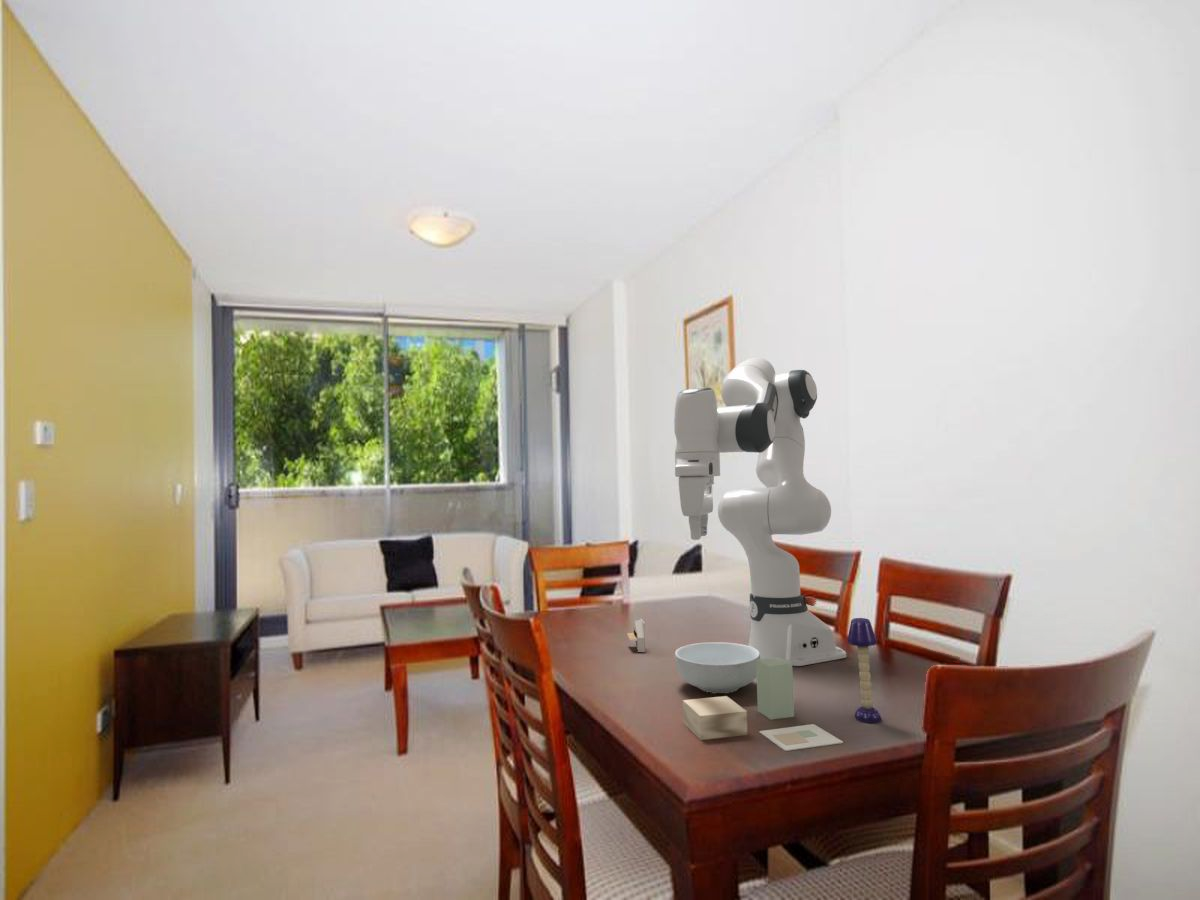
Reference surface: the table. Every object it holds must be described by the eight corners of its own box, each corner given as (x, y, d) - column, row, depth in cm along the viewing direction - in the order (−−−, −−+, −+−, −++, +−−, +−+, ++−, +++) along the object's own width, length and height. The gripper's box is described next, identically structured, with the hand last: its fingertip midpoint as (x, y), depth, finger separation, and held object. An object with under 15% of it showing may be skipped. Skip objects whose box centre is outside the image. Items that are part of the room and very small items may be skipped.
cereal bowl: (672, 676, 141) (671, 642, 142) (752, 675, 141) (750, 640, 141) (679, 702, 124) (678, 663, 125) (769, 701, 124) (768, 662, 124)
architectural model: (631, 655, 161) (630, 623, 161) (627, 648, 168) (626, 618, 168) (645, 654, 161) (644, 623, 162) (641, 647, 168) (640, 617, 169)
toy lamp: (865, 725, 111) (861, 623, 111) (844, 716, 115) (840, 618, 116) (887, 720, 113) (882, 620, 113) (865, 712, 117) (862, 615, 118)
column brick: (780, 708, 120) (778, 657, 120) (794, 716, 116) (792, 663, 116) (757, 711, 119) (756, 659, 119) (770, 719, 114) (768, 666, 115)
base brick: (727, 719, 116) (726, 696, 116) (747, 736, 108) (746, 711, 108) (683, 724, 114) (682, 700, 114) (700, 741, 106) (699, 716, 106)
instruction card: (813, 725, 111) (813, 723, 111) (843, 743, 103) (843, 741, 103) (759, 732, 109) (759, 730, 109) (785, 751, 101) (785, 749, 101)
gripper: (689, 469, 145) (690, 533, 144) (673, 466, 125) (675, 541, 124) (718, 468, 143) (720, 534, 142) (707, 466, 123) (709, 541, 122)
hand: (699, 537), depth 133 cm, fingers open, 8 cm apart
